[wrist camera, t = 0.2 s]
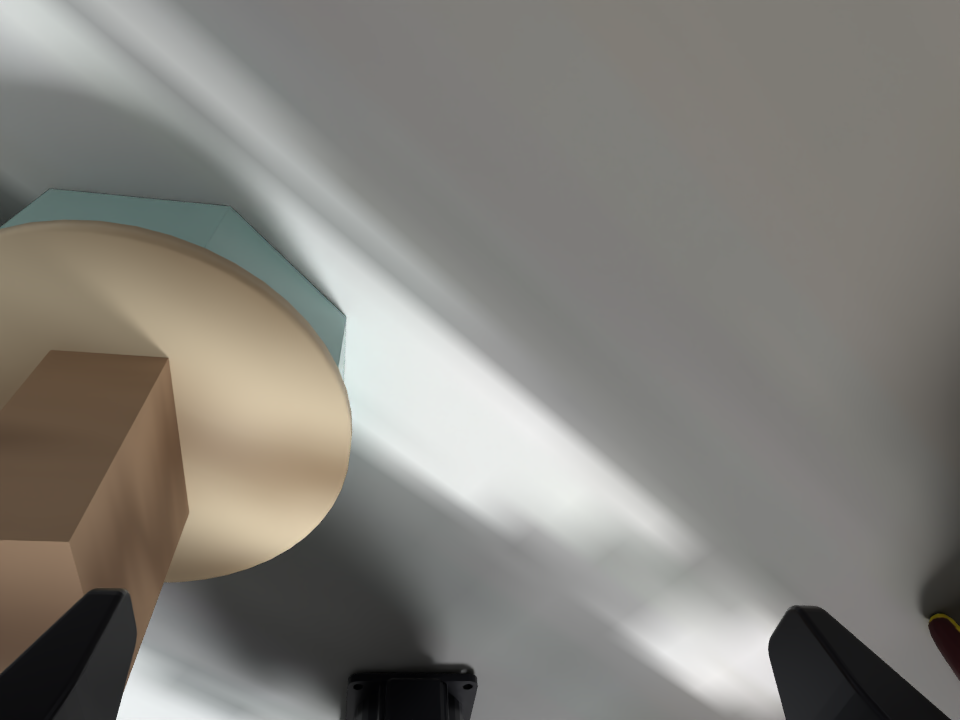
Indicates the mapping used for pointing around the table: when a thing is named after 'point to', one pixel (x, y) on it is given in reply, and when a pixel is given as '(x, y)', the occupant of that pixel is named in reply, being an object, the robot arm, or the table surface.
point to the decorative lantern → (947, 639)
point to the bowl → (206, 229)
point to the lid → (150, 420)
